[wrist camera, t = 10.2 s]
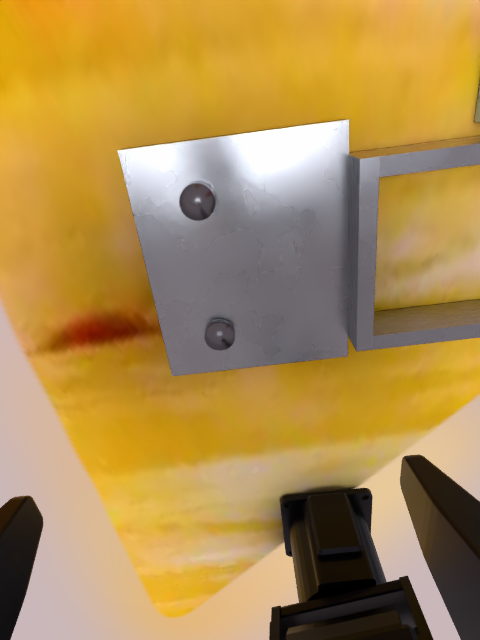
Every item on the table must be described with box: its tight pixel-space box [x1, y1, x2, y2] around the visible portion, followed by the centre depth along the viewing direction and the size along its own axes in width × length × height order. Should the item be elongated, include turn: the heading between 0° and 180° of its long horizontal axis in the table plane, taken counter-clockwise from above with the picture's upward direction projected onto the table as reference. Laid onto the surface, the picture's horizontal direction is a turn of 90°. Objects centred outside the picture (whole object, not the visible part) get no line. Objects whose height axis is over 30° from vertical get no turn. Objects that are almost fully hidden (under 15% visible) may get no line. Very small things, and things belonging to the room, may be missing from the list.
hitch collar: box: [118, 119, 480, 376], centre depth 19 cm, size 12×19×2 cm, turn 97°
